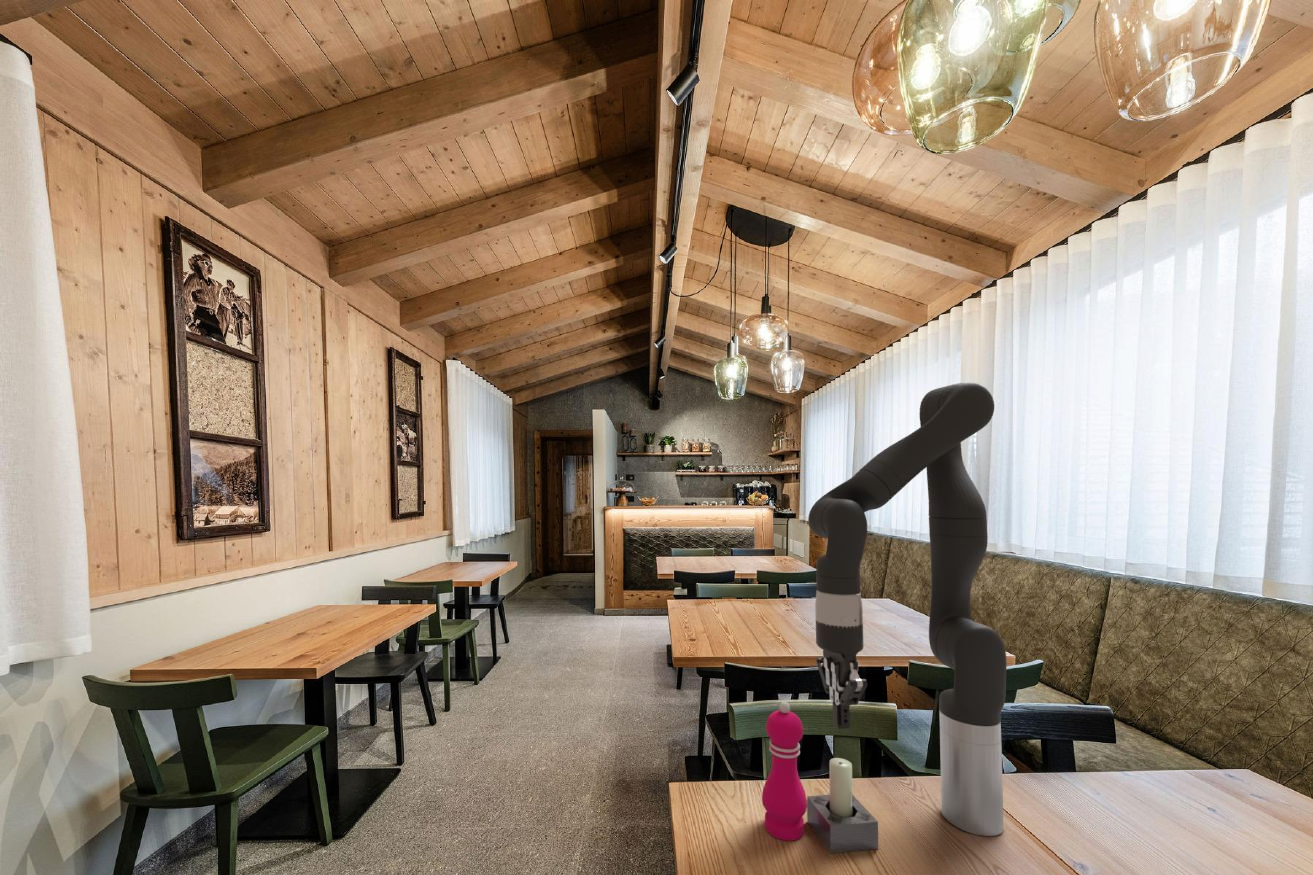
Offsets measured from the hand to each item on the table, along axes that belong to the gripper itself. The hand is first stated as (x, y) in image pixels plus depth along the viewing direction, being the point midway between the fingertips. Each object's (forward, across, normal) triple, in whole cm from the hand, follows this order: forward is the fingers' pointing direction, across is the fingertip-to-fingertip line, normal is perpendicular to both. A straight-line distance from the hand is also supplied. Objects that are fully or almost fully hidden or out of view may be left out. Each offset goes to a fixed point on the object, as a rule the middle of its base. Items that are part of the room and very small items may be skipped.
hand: (841, 726), depth 89 cm
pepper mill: (+17, +3, +9) cm, 19 cm away
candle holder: (+17, 0, 0) cm, 17 cm away
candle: (+16, 0, 0) cm, 16 cm away
